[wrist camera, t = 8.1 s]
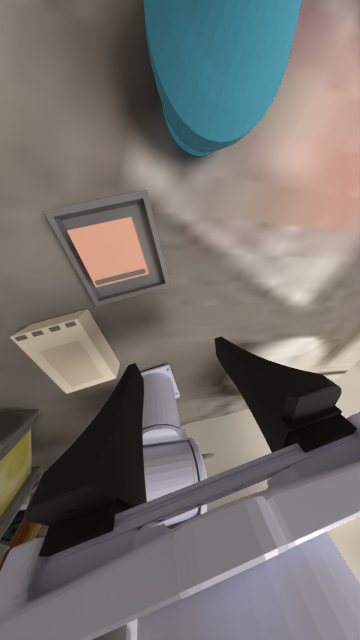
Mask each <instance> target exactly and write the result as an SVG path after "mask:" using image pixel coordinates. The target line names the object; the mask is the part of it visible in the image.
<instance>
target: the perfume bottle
mask: <svg viewBox="0 0 360 640" xmlns="http://www.w3.org/2000/svg"><path fill="white" fill-rule="evenodd" d="M301 1H302V0H144V13H145V25H146V35H147V42H148V49H149V56H150V61H151V65H152V70H153V74H154V78H155V81H156V85H157V89H158V93H159V96H160V99H161V103H162V107H163V113H164V117H165V121H166V124H167V126H168V129H169V131H170V133H171V135H172V136H173V138H174V140H175V141H176V143H177V144H178V145H179V146H180V147H181V148H182V149H183V150H184V151H186V152H187V153H189V154H191V155H195V156H205V155H208V154H210V153H212V152H214V151H216V150H220V149H223V148H225V147H228V146H230V145H232V144H234V143H236V142H237V141H239V140H240V139H241V138H243V137H244V136H245V135H246V134H247V133H248V132H249V131H251V130H252V129H253V128H254V126H255V125H256V124H257V123H258V122H259V121H260V120H261V119H262V117H263V116H264V114H265V113H266V111H267V110H268V108H269V106H270V105H271V103H272V102H273V99H274V97H275V95H276V93H277V91H278V88H279V86H280V84H281V81H282V78H283V75H284V72H285V69H286V66H287V63H288V59H289V54H290V50H291V46H292V42H293V37H294V33H295V29H296V24H297V20H298V15H299V11H300V6H301Z"/></svg>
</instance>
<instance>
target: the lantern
mask: <svg viewBox="0 0 360 640" xmlns="http://www.w3.org/2000/svg"><path fill="white" fill-rule="evenodd" d="M39 420H40V410H32V411H21V412H10V413H0V539H1V538H2V536H3V535H4V533H5V532H6V530H7V528H8V527H9V525H10V524H11V522H12V520H13V519H14V517H15V516H16V514H17V512H18V511H19V509H20V508H21V506H22V504H23V503H24V501H25V500H26V498H27V496H28V495H29V493H30V500H31V498H32V496H33V494H34V492H35V490H36V488H37V486H38V484H39V482H40V481H39V482H38V483H37V484H36V482H37V480H38V479H39V477H40V476H41V466H37V467H31V429H32V428H33V426H34V425H35V424H36V423H37V422H38V421H39ZM35 484H36V485H35ZM41 525H42V524H37V523H33V522H30V521H27V520H26V519H25V517H24V519H23V521H22V522H21V524H20V526H19V527H18V529H17V531H16V533H15V534H14V536H13V538H12V539H11V541H10V543H7V542H5V541H2V540H0V571H1V569H2V567H3V565H4V562H5V560H6V558H7V556H8V554H9V552H10V550H11V549H12V548H13V547H16V546H18V545H21V544H24V543H26V542H29V541H31V540H34V539H35V537H36V535H37V533H38V531H39V529H40V527H41Z"/></svg>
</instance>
